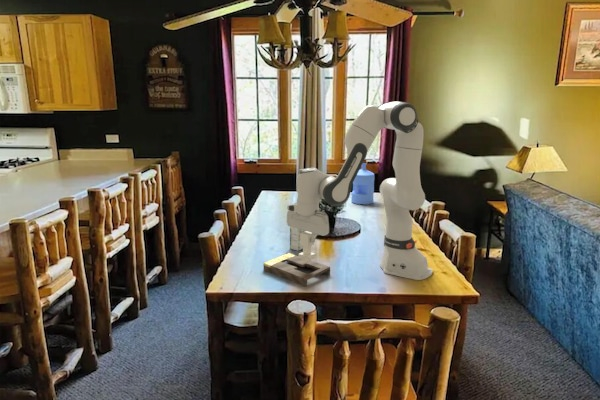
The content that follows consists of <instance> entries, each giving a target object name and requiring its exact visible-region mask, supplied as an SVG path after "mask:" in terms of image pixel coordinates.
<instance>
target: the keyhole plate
mask: <svg viewBox="0 0 600 400" xmlns="http://www.w3.org/2000/svg"><path fill="white" fill-rule="evenodd" d="M286 262H287V263H286ZM289 263H290V264H289ZM292 264H293V265H292ZM262 266H263V271H265V272H267V273H269V274H272V275H274V276H277V277H280V278H283V279H285V280H288V281H290V282H292V283H295V284H298V285H300V286H301V287H302V286H303V287H308V281H309V280H310V279H312V278H313V279H314V278H315V277H317V276H318V275H321V274H324V275H327V276H330V275H331V266H329V265H326V264H324V263H323V264H322V263H320V262H316V261H314V260H312V259H311V260H309V261H306V260H303V259H300V258H298V255H296V254H293V253H290V252H288V253H284V254H283V255H280V256H277V257H274V258H273V259H270V260H267V261H265V262H263V265H262ZM297 266H299V267H301V268H308V269H309V270H310V269H311V270H313V271H312V272H310V273H306V272H303V271H301V270H298V267H297Z"/></svg>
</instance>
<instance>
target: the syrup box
mask: <svg viewBox="0 0 600 400" xmlns="http://www.w3.org/2000/svg"><path fill="white" fill-rule="evenodd" d="M303 232H305V231H304V230H303ZM289 249H290V250H294V251H298V252H300V251H301V250H302V251H303V245H300V235H299V233H298V231H297V228H293V227H290V226H289Z"/></svg>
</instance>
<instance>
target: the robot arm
mask: <svg viewBox="0 0 600 400" xmlns="http://www.w3.org/2000/svg"><path fill="white" fill-rule="evenodd" d="M350 124H351V125H350V126H349V128H348V130H347V131H346V133H345V137H344V145H345V148H346V153H347V155H346V159H345V161H344V162H343V165H342V167H341V169H340V170H339V172H338V174H337V176H336V177H335V176H333V175H330V174H328V173H324V172H323V171H320V170H319V169H318V168H316V167H307V168H303V169H301V170H300V171H299V172H298V175H297V180H296V182H297V183H296V192H297V197H296V198H297V199H296V202H295V203H292V204H288V205H287V207H286V209H287V210H288V211H287V212H286V225H287V226H288V227H289V228H290V227H293V228H297V231H298V233H299V235H300V233H302V232H303V230H304V231H308V232H311V233H312V235H313V236H312V238H310V242H311V243H314V244H315V242H316V238H317V237H318V235H319V236H322V237H323V236H326V235H329V233H330V223H329V222H330V221H329V215H328V214H327V213H326V212H324V211H321V210H319V207H320V206H319V205H320V204H319V203H320V199H323V200H324V201H325V202H326V203H327V204H328V205H329V206H332V207H341V206H342V205H344V204H346V202H348V200H349V198H350V195H351V191H352V187H353V181H354V179H355V177H356V175H357V174H358V172H359V170H361V168H362V167H361V166H362V164H363V163H364V161H365V160H366V156H367V154H368V152H369V150H370V148H371V146H372V144H373V143H374V141H375V140H376V138H377V136H378V134H379V132H380V131H382V130H383V129H389V130H394V131H395V134H396V136H395V137H396V140H395V144H394V152H393V157H392V167H393V171H394V176H395V177H389V178H386V179H384V180H383V181H382V182H381V184H380V185H379V193H380V195H381V197H382V201H383V206H384V207H383V208H384V210H385V211H384V212H385V218H386V220H385V235H384V240H383V246H384V249H383V255H382V258H381V262H380V264H379V266H380V268H381V269H382V270H383V273H385V274H387V275H392V276H397V277H401V278H404V279H409V280H414V281H422V280H426V279H428V278H429V277H431V276H432V275H433V274H434V272H433V271H434V269H433V268H431V267H428V265H429V263H428V259H427V256H425V255H424V254H423V253H422V252H421V251H420V250H419V249H418V248H417V247H416V244H417V241H418V239H416V240H414V238H413V237H412V235H413V217H412V215H411V214H410V211H417V210H419V209H421V207H422V206H423V205H424V203H425V201H426V194H425V192H424V190H423V188H422V185H421V184H422V183H421V174H420V171H421V169H420V166H421V162H422V161H421V159H422V153H423V147H424V127H423V125H422V123H420V122H419V119H418V112H417V109H416V108H415V106H414V105H412V104H411V103H409V102H405V101H388V102H387V101H386V102H383V103H381V104H380V105H378V106H376V105H372V104H371V105H366V106H364V107H363V108H362V109H361V111H360V112H359V113H358V114H357V116H356V117H355V118H354V120H353V121H352V122H351V123H350Z"/></svg>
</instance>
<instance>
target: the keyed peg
mask: <svg viewBox="0 0 600 400" xmlns="http://www.w3.org/2000/svg"><path fill="white" fill-rule="evenodd" d="M312 236H313V235H312V233H311V232H308V231H305V232H302V233H300V245H303V249H302V252H300V253H297V254H298V255H297V256H298V258H300V259H303V260H306V261H309V260H311V261H312V260H314V259H316V253H314V252H312V246H313V245H315V242H314V243H311V242H310V238H312Z"/></svg>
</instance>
